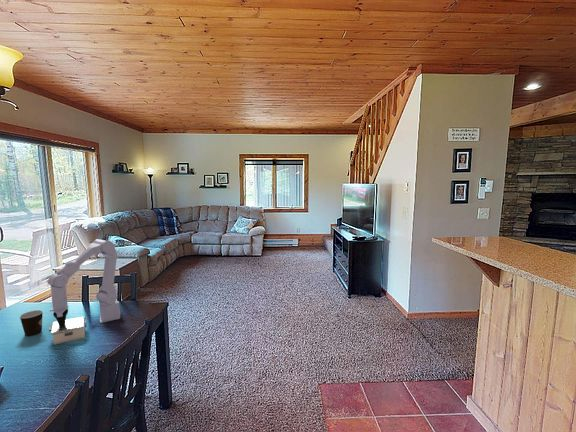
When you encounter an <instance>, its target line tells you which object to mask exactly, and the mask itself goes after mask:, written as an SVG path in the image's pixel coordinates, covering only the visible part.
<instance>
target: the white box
mask: <svg viewBox="0 0 576 432" xmlns="http://www.w3.org/2000/svg"><path fill="white" fill-rule="evenodd" d="M85 328H87V316H86V317H85V316H84V328H81V329H76V330H71V331H66V332H61V333H56V334H52V343H53V346H55V345H59V344H64V343H68V342H73V341H77V340H79V339H84V338H86V337H85V335H86V334H85V332H86V331H85Z"/></svg>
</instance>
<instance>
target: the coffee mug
mask: <svg viewBox="0 0 576 432" xmlns="http://www.w3.org/2000/svg"><path fill="white" fill-rule="evenodd" d="M43 314H44V313H43V310H40V309H39V310H38V309H36V310H30V311H26V312H24V313H22V314H21V315H19V319H20V324H21V326H22V328H23V333H24V336H25V337H34V336H37V335H40V334H41V333H42V332H43Z"/></svg>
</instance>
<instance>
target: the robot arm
mask: <svg viewBox="0 0 576 432" xmlns="http://www.w3.org/2000/svg"><path fill="white" fill-rule="evenodd" d="M100 254H102V256H104V265H103V266H104V267H103V273H102V283H101V286H100V287H99V288H98V292H97V293H96V296H95V298H96V300H97V301H98V303H99V304H98V305H99V314H100V315H99V322H100V324H102V323H107V322H111V321H114V320H119V319H121V308H120V301H119V300H117V299H118V294H117V289H116V286H114V284H115V277H116V275H115V274H116V267H117V266H116V265H117V258H118V252H117V250H116V245H115V243H113V242H112V241H111V240H104V239H101V238H97V239H95V240H93V242H91V243H90V244H89V245H88V247H87V248H86V249H85V250H84V251H83V252H82V253H81V254H80V255H79V256H78V257H77V258H75V260H73V261H69V262H66V263H65V264H64V266H63V267H62V268H61V269H59V270H57V271H56V272H55V273H53V274H51V275H49V278H48V279H47V281H46V282H47V284H48V285H50V294H51V295H50V296H51V302H52V308H49V311H50V312H53V314H52V315H53V317H54V318H55V319H56V321H57V322H58V324H59V326H64V325H65V321H66V319H67V316H68V313H69V305H68V304H69V303H68V296H67V295H68V294H67V285H68V282H69V279H70V278H72V277H73V276H74V275H75V274H76V273H77V272H78V271H80V268H81V265H83V264H84V263H85V262H86V261H88V260H89V259H90V258H91V257H93V256H94V255H100Z"/></svg>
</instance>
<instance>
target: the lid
mask: <svg viewBox="0 0 576 432" xmlns="http://www.w3.org/2000/svg"><path fill="white" fill-rule="evenodd" d="M84 318H85V316H78V317H77V316H76V317H73V318H66V321H65V325H64V326H59V324H58V322H57V320H56V321H53V322H52V324H51V325H49V329H48V332H50V333H51V335H53V334H56V333H61V332H66V331H71V330H76V329H81V328H84V327H85V324H84Z"/></svg>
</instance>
